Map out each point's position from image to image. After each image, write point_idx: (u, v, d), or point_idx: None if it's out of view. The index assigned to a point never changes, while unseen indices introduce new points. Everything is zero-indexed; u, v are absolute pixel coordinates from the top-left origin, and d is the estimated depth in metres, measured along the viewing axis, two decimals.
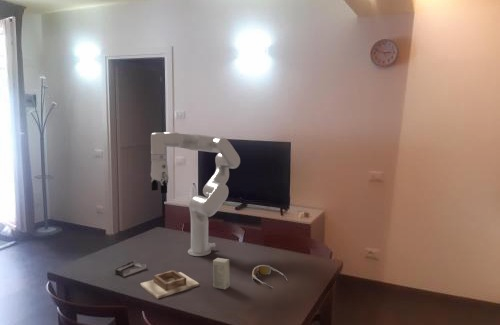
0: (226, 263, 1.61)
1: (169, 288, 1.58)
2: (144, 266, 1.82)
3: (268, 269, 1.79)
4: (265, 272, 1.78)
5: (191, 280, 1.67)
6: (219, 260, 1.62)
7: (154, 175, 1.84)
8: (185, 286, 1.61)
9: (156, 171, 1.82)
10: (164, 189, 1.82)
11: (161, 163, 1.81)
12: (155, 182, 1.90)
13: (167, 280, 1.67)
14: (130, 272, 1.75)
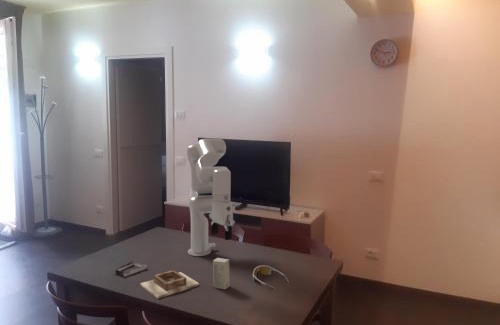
0: (226, 263, 1.61)
1: (169, 288, 1.58)
2: (144, 266, 1.82)
3: (268, 269, 1.78)
4: (265, 272, 1.78)
5: (191, 280, 1.67)
6: (219, 260, 1.62)
7: (217, 218, 1.59)
8: (185, 286, 1.61)
9: (219, 214, 1.58)
10: (229, 235, 1.57)
11: (226, 205, 1.56)
12: (215, 225, 1.65)
13: (167, 280, 1.67)
14: (130, 272, 1.75)
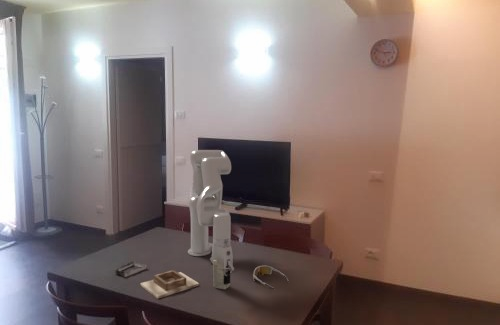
0: None
1: (169, 288, 1.58)
2: (145, 266, 1.82)
3: (269, 269, 1.78)
4: (266, 272, 1.78)
5: (191, 280, 1.67)
6: None
7: (217, 262, 1.61)
8: (185, 286, 1.61)
9: (219, 258, 1.59)
10: (227, 280, 1.60)
11: (226, 250, 1.58)
12: None
13: (167, 280, 1.67)
14: (131, 272, 1.75)
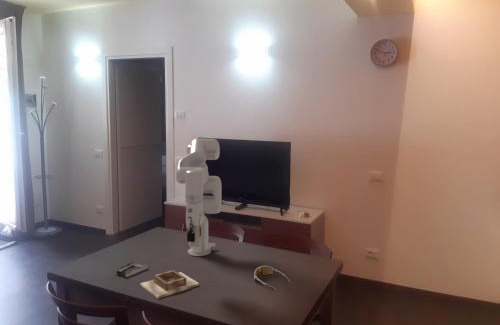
0: None
1: (169, 288, 1.58)
2: (145, 266, 1.82)
3: (269, 270, 1.78)
4: (267, 273, 1.78)
5: (191, 280, 1.67)
6: None
7: None
8: (185, 286, 1.61)
9: None
10: (189, 237, 1.57)
11: (188, 206, 1.56)
12: None
13: (167, 280, 1.67)
14: (132, 272, 1.75)
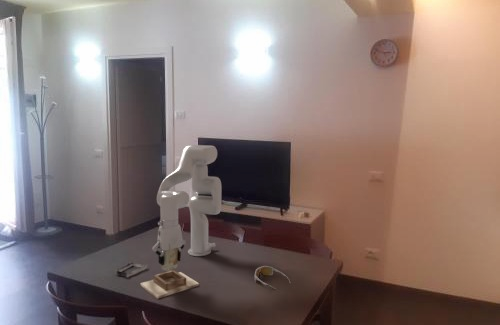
0: None
1: (169, 288, 1.58)
2: (145, 266, 1.82)
3: (270, 270, 1.78)
4: (267, 273, 1.77)
5: (191, 280, 1.67)
6: None
7: None
8: (185, 286, 1.61)
9: None
10: (159, 260, 1.60)
11: (159, 229, 1.59)
12: None
13: (167, 280, 1.67)
14: (133, 273, 1.75)
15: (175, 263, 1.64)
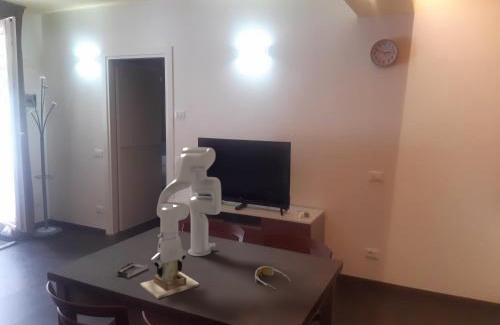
0: None
1: (169, 288, 1.58)
2: (145, 266, 1.82)
3: (270, 270, 1.77)
4: (268, 273, 1.77)
5: (191, 280, 1.67)
6: None
7: None
8: (185, 286, 1.61)
9: None
10: (157, 271, 1.60)
11: (159, 241, 1.60)
12: (179, 262, 1.66)
13: None
14: (133, 273, 1.75)
15: (175, 278, 1.64)
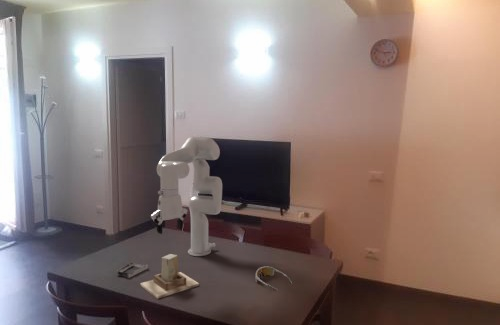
0: (163, 260, 1.61)
1: (169, 288, 1.58)
2: (146, 266, 1.82)
3: (271, 270, 1.77)
4: (268, 273, 1.77)
5: (191, 280, 1.67)
6: (168, 255, 1.64)
7: None
8: (185, 286, 1.61)
9: None
10: (157, 228, 1.59)
11: (159, 198, 1.59)
12: (179, 220, 1.65)
13: None
14: (134, 273, 1.74)
15: (175, 278, 1.64)
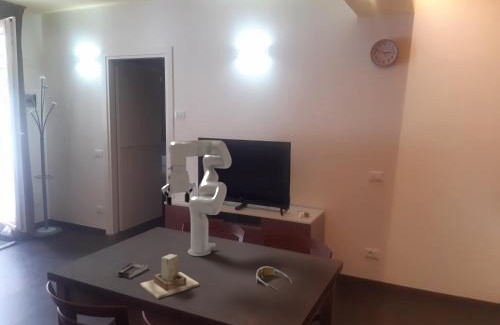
0: (163, 260, 1.61)
1: (169, 288, 1.58)
2: (146, 266, 1.82)
3: (271, 271, 1.77)
4: (269, 274, 1.77)
5: (191, 280, 1.67)
6: (168, 255, 1.64)
7: None
8: (185, 286, 1.61)
9: None
10: (167, 201, 1.77)
11: (168, 174, 1.77)
12: (186, 194, 1.83)
13: None
14: (135, 273, 1.74)
15: (175, 278, 1.64)
